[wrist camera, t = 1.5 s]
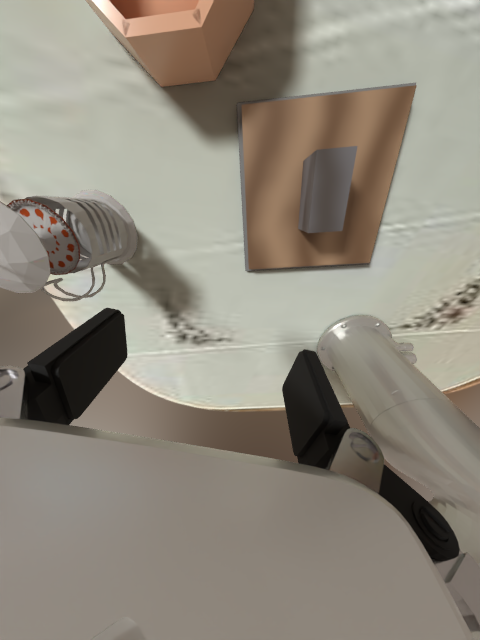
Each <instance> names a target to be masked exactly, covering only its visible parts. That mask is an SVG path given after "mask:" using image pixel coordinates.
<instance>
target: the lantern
mask: <svg viewBox="0 0 480 640" xmlns="http://www.w3.org/2000/svg"><path fill="white" fill-rule="evenodd" d="M56 209H59V215H58V214H57V213H55V210H56ZM64 209H67V214H66V222H65V221H64V220H63V212H64ZM137 239H138V235H137V231H136V228H135V225H134V221H133V220H132V218H131V217H130V215H129V214H128V212H127V211H126V209H125V208H124V206H123V205H121V204H120V203H119V202H118V201H117V200H115V199H114V198H113V197H112V196H110V195H108V194H105V193H103V192H100V191H97V190H84V191H80V192H79V193H78V194H76V195H75V196H74V197H72V198H67V197H48V196H33V197H27V198H25V199H20V200H13V201H12V202H11V203H9V204H8V205H7V206H6V205H5V204H4V203H2V202H1V201H0V287H1V288H4V289H7V290H10V291H13V292H16V293H27V292H35V291H36V290H38V289H41V291H43V292H44V293H46V294H47V295H49V296H51V297H52V298H55V299H59V300H62V301H77V300H80V299H82V298H87V297H92V296H94V295H95V294H97V293H98V292H100V291H101V290H102V288H103V286H104V284H105V277H106V275H105V270H104V264H105V263H107V264H122V263H124V262H126V261H127V260H129V259H131V258H132V256H133V254H134V253H135V251H136V249H137ZM80 254H81V255H84V256H86V257H89V258H84V257H82V256H80ZM79 259H82V260H79ZM100 264H101V267H102V272H103V283H102V286H101V287H100V288H99V289H98V290H97V291H96V292H94V293H92V294H91V295H88V294H89V293H90V292H91V291H92V289H93V287H94V284H95V276H94V272H93V267H95V266H98V265H100ZM90 267H91V273H92V286H91V288H90V290H89V291H88V292H87V293H86V294H84V295H83V296H78V295H74V294H71V293H68V292H65V291H64V290H63V289H61V288H60V287H58V285H57V283H58V282H60V281H62V280H63V279H62V278H59V279H55V280H52V281H49V282H47V280H48V277H49V275H50V274H53V275H62V274H68V273H75V272H78V271H81V270H85V269H87V268H90ZM51 283H54V286H55V288H56V289H58V290H60V291H61V292H63V293H65V294H66V295H69V296H73V297H76V298H74V299H65V298H60V297H57V296H54V295H52V294H50V293H48V292H47V291H45V290H44V288H43V287H44V286H46V285H48V284H51Z"/></svg>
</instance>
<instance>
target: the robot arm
mask: <svg viewBox="0 0 480 640" xmlns="http://www.w3.org/2000/svg"><path fill="white" fill-rule="evenodd" d="M413 348H414V347H413V345H412V343H399V344H398V343H397V342H395V341H394V340H393V339H392V334H391V331H390V329H389V328H388V326H387V325H386V324H385V323H384V322H382V321H381V320H379V319H378V318H375V317H372V316H367V315H356V316H351V317H347V318H344V319H342V320H340V321H338V322H336V323H334V324H333V325H331V326H330V327H329V328H328V329H327V330H326V331H325V332H324V333H323V334H322V336H321V337H320V339H319V342H318V346H317V353H318V356H319V358H320V360H321V362H322V363H323V365H324V366H326V367H327V368H329V369H331V370H333V371H336V373H337V374H338V376H339V378H340V380H341V382H342V384H343V386H344V388H345V389H346V391H347V393H348V395H349V397H350V399H351V401H352V403H353V405H354V406H355V408H356V410H357V412H358V414H359V416H360V418H361V420H362V421H363V423H364V425H365V427H366V429H367V431H368V433H369V435H370V436H371V437H370V436H369V435H367V434H366V433H364V432H363V431H361V430H358V429H355V428H350V427H349V424H348V422H347V419H346V417H345V415H344V413H343V411H342V409H341V406H340V404H339V402H338V400H337V398H336V395H335V393H334V391H333V389H332V387H331V384H330V382H329V380H328V378H327V376H326V374H325V371H324V369H323V367H322V365H321V363H320V360H319V358H318V356H317V354H316V352H314V351H309V350H303V351H302V352H299V354H298V356H297V358H296V360H295V362H294V364H293V366H292V368H291V370H290V372H289V374H288V376H287V378H286V380H285V382H284V384H283V388H282V391H283V397H284V402H285V408H286V413H287V419H288V424H289V430H290V436H291V441H292V447H293V452H294V455H295V456H297V457H298V462H299V464H298V463H293V462H288V461H283V460H277V459H271V458H266V457H260V456H254V455H248V454H242V453H236V452H231V451H225V450H219V449H213V448H207V447H201V446H195V445H189V444H183V443H177V442H171V441H165V440H158V439H152V438H146V437H139V436H134V435H128V434H121V433H115V432H108V431H102V430H96V429H90V428H83V427H77V426H70V425H69V424H70V423H71V422H72V421H73V420H74V419H77V418H78V417H80V416H81V415H82V413H83V412H84V411H85V410H86V408H87V407H88V406H89V405H90V403H91V402H92V401H93V400H94V398H95V397H96V396H97V395H98V393H99V392H100V391H101V390H102V389H103V387H104V386H105V385H106V384H107V382H108V381H109V380H110V379H111V377H112V376H113V375H114V374H115V373H116V371H117V370H118V369H119V368H120V366H121V365H122V364H123V363H124V362H125V360H126V358H127V344H126V332H125V321H124V315H123V314H121V312H120V311H119V310H115V309H111V308H105V309H104V310H102V311H101V312H99V313H98V314H96V315H95V316H94V317H92V318H91V319H89V320H88V321H86V322H85V323H84V324H82V325H81V326H79V327H78V328H76V329H75V330H74V331H72V332H71V333H69V334H68V335H66V336H65V337H64V338H62V339H61V340H59V341H58V342H56V343H55V344H54V345H52V346H51V347H49V348H48V349H46V350H45V351H44V352H42V353H41V354H39V355H38V356H36V357H35V358H34V359H32V360H31V361H29V362H28V366H27V367H25V368H24V369H22V368H20V367H16V366H2V367H0V640H480V428H479V427H478V426H477V425H476V424H475V423H474V422H473V421H472V420H471V419H469V418H468V417H467V416H466V415H465V414H464V413H463V412H462V411H461V410H460V409H459V408H458V407H457V406H456V405H455V404H454V403H453V402H451V400H449V399H448V398H447V397H446V396H445V395H444V394H443V393H442V392H441V391H440V390H439V389H438V388H437V387H436V386H435V385H434V384H433V383H432V382H431V381H430V380H429V379H428V378H427V377H425V376H424V375H423V374H422V373H421V372H420V371H419V370H418V369H417V368H416V367H415V366H414V365H413V364H414V363H416V361H417V358H416V355H415V354H414V353H400V351H412V350H413ZM384 458H385V459H386V460H387V461H388V462H389V463H390V464H391V465H392V466H393V467H395V468H396V469H397V470H399V471H400V472H402V473H403V474H405V475H407V476H408V477H410V478H412V479H414V480H416V481H417V482H420V483H421V484H423V485H424V486H426V487H427V488H428V489H430V490H431V492H432V493H433V496H434V497H433V499H432V500H431V501H429V502H428V501H426V500H425V499H424V498H423V497H422V496H421V495H419V494H418V493H417V492H416V491H415V490H414V489H412V488H411V487H410V486H409V485H408V484H407V483H405V482H404V481H403V480H402V479H401V478H399V477H398V476H397V475H396V474H395V473H394V472H393V471H391V470H390V469H389V468H388V467H387V466H386V465H384Z"/></svg>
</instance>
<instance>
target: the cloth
mask: <svg viewBox="0 0 480 640" xmlns="http://www.w3.org/2000/svg"><path fill="white" fill-rule="evenodd" d="M415 89H416V85H415V86H406V87H397V88H388V89H379V90H370V91H361V92H352V93H343V94H334V95H325V96H316V97H307V98H298V99H289V100H280V101H271V102H262V103H253V104H244V105H241V106H242V129H243V151H244V174H245V196H246V219H247V241H248V264H249V269H265V268H283V267H301V266H319V265H337V264H354V263H370V260H371V256H372V252H373V248H374V244H375V241H376V237H377V233H378V229H379V225H380V222H381V218H382V214H383V210H384V207H385V203H386V199H387V195H388V191H389V188H390V184H391V180H392V176H393V172H394V169H395V165H396V161H397V157H398V154H399V150H400V146H401V142H402V138H403V135H404V131H405V127H406V123H407V119H408V116H409V112H410V108H411V104H412V101H413V97H414V93H415Z"/></svg>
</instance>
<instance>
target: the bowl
mask: <svg viewBox="0 0 480 640" xmlns="http://www.w3.org/2000/svg"><path fill="white" fill-rule="evenodd" d="M86 2H87V3H88V4H89V5H90V7H91V8H92V9H93V11H94V12H95V13H96V14H97V16H98V17H99V18H100V19H101V21H102V22H103V23H104V24H105V26H106V27H107V28H108V30H109V31H110V32H111V33H112V34H113V35H114V36H115V37H116V38H117V39H118V40H119V42H120V43H121V44H122V45H123V46H124V47H125V48H126V49H127V50H128V51H129V52H130V53H131V55H132V56H133V57H134V58H135V59H136V60H137V61H138V62H139V63H140V64H141V65H142V67H143V68H144V69H145V70H146V71H147V72H148V73H149V74H150V75H151V76H152V77H153V78H154V80H155V81H156V82H157V83H158V84H159V85H160V86H161V87H165V86H174V85H182V84H190V83H199V82H207V81H215V80H216V79H217V77H218V75H219V73H220V71H221V69H222V67H223V66H224V64H225V62H226V60H227V58H228V56H229V54H230V52H231V51H232V49H233V47H234V45H235V43H236V41H237V39H238V38H239V36H240V34H241V32H242V30H243V28H244V26H245V25H246V23H247V21H248V19H249V17H250V15H251V13H252V12H253V10H254V0H86Z"/></svg>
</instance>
